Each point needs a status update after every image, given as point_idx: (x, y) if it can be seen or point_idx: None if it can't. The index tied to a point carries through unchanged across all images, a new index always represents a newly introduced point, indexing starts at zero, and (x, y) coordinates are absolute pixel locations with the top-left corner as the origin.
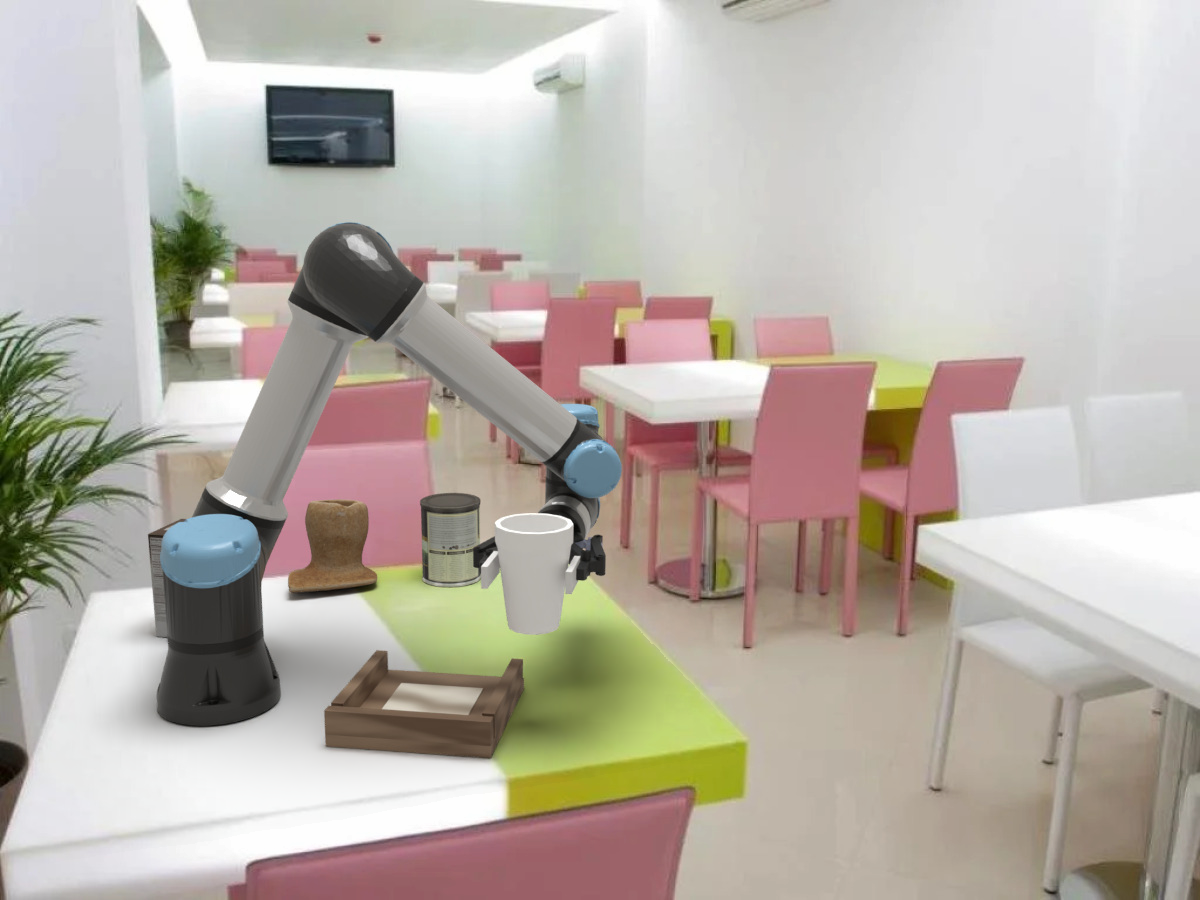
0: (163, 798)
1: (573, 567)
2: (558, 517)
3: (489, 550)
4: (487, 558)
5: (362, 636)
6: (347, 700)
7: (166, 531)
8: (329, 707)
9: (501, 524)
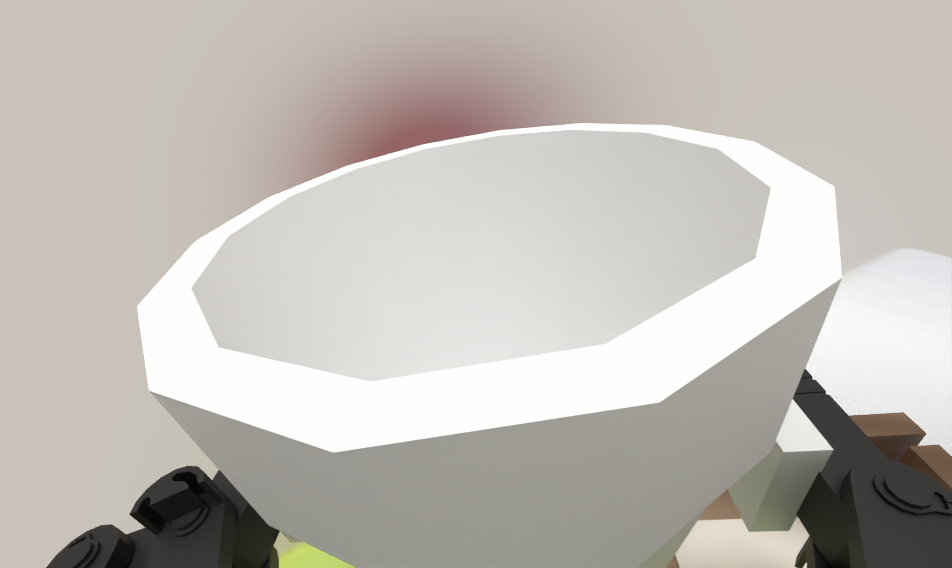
0: (898, 312)
1: None
2: (216, 336)
3: (893, 470)
4: (807, 412)
5: None
6: (931, 472)
7: None
8: (913, 426)
9: (723, 183)
